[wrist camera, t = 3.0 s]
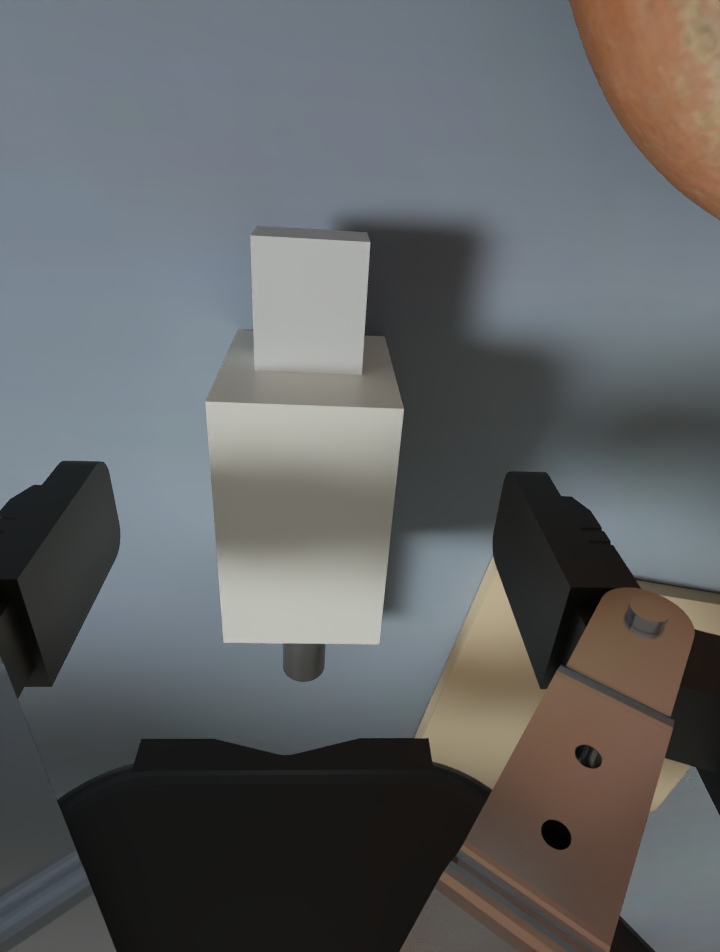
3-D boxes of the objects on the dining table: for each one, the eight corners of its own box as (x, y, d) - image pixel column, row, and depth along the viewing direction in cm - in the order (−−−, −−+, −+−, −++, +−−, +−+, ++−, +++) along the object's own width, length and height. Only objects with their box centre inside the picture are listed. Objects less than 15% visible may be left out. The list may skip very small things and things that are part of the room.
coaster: (647, 798, 25) (653, 811, 25) (399, 772, 24) (400, 786, 23) (798, 607, 20) (810, 619, 20) (492, 556, 18) (497, 568, 18)
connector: (361, 611, 19) (369, 732, 16) (250, 610, 19) (230, 732, 15) (393, 223, 14) (419, 261, 10) (233, 213, 13) (194, 248, 9)
